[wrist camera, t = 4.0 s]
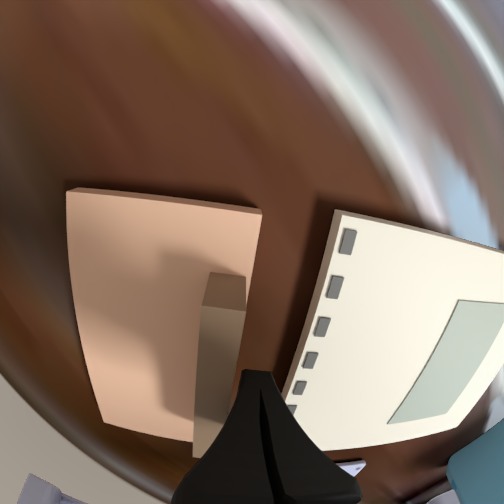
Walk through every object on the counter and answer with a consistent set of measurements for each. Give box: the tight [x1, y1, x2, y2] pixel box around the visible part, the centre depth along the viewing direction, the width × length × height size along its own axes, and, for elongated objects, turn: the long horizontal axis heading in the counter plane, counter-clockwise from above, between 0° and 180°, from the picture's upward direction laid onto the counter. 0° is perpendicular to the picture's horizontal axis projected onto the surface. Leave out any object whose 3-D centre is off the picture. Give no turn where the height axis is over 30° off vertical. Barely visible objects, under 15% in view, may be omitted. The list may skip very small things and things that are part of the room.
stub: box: [66, 187, 262, 458], centre depth 12 cm, size 15×8×4 cm, turn 171°
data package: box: [446, 419, 504, 504], centre depth 17 cm, size 12×4×12 cm, turn 118°
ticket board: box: [281, 209, 504, 451], centre depth 15 cm, size 16×18×1 cm
